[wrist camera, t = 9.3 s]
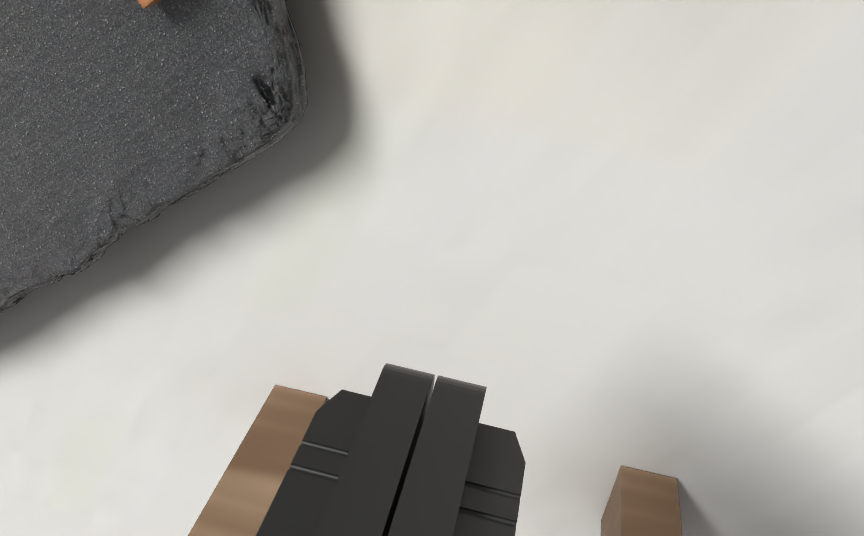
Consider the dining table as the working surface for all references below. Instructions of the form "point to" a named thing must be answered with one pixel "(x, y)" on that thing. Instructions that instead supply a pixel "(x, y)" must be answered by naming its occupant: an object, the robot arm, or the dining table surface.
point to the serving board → (128, 117)
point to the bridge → (282, 434)
